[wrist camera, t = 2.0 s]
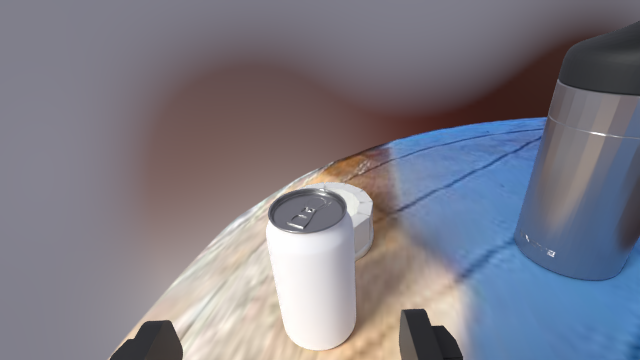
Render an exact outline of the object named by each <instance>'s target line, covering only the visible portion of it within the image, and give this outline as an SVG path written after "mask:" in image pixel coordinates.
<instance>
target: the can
mask: <svg viewBox="0 0 640 360" xmlns="http://www.w3.org/2000/svg"><path fill="white" fill-rule="evenodd" d="M268 217H269V221H268V224H267V228H266V237H267V243H268V249H269V254H270V259H271V264H272V269H273V274H274V279H275V284H276V289H277V294H278V299H279V304H280V308H281V313H282V318H283V323H284V327H285V330H286V332H287V334H288V336H289V337H290V339H291V340H292V341H293V342H294V343H296V344H297V345H299V346H300V347H303V348H305V349H309V350H315V351H321V350H327V349H331V348H334V347H336V346H338V345H340V344H341V343H343V342H344V341H345V340H346V339H347V338H348V337H349V336H350V334H351V333H352V331H353V329H354V326H355V322H356V286H355V253H354V229H353V221H352V218H351V216H350V214H349V213H348V211H347V204H346V202H345V200H344V199H343V197H342V196H340V195H339V194H337V193H335V192H333V191H330V190H327V189H321V188H305V189H299V190H295V191H292V192H289V193H286V194H284V195H282V196H281V197H279V198H278V199H276V200H275V201H274V202H273V203H272V205H271V206H270V208H269V211H268Z"/></svg>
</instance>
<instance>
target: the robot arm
mask: <svg viewBox="0 0 640 360" xmlns="http://www.w3.org/2000/svg"><path fill="white" fill-rule="evenodd" d="M639 236H640V21H638V22H636V23H634V24H632V25H629V26H627V27H624V28H622V29H619V30H616V31H613V32H610V33H607V34H604V35H601V36H597V37H594V38H590V39H587V40H584V41H582V42H579V43H577V44H576V45H574V46H572V47H571V48H570V49H569V50H568V52H567V53H566V55H565V57H564V60H563V63H562V67H561V70H560V74H559V77H558V81H557V84H556V88H555V92H554V95H553V99H552V102H551V106H550V109H549V114H548V117H547V120H546V124H545V127H544V131H543V135H542V138H541V142H540V145H539V149H538V152H537V156H536V159H535V163H534V166H533V170H532V173H531V177H530V181H529V184H528V188H527V191H526V195H525V198H524V202H523V205H522V208H521V212H520V216H519V219H518V223H517V226H516V230H515V233H514V240H515V242H516V245H517V246H518V248H519V249H520V250H521V251H522V252H523V253H524V254H525V255H526V256H527V257H528V258H530V259H531V260H532V261H534V262H535V263H537V264H539V265H541V266H543V267H544V268H546V269H548V270H551V271H553V272H556V273H558V274H561V275H565V276H568V277H572V278H577V279H583V280H605V279H609V278H612V277H615V276H616V275H617V274H618V273H620V271H621V269H622V267H623V265H624V264H625V262H626V260H627V258H628V256H629V254H630V252H631V251H632V249H633V247H634V245H635V243H636V241H637V240H638V238H639ZM399 346H400V353H401V358H402V360H463V356H462V354H461V351H460V349H459V347H458V344H457V342H456V340H455V339H454V337H453V336H452V335H451V334H450V333H449V332H448V331H447V329H446V328H445V327H444V326H431V324H430V321H429V318H428V315H427V313H426V311H425V310H424V309H407V310H402V311H401V319H400V332H399ZM182 358H183V349H182V345H181V343H180V341H179V338H178V336H177V334H176V332H175V329H174V327H173V325H172V323H171V321H169V320H163V321H147V322H145V323H144V324H143V325H142V326H141V328H140V329H139V331H138V333H137V334H136V336H135V338H134V339H128V340H127V341H126V342H125V343H124V344H123V345H122V346H121V347H120V348H119V349H118V350H117V351H116V352H115V353H114V354H113V355H112V357H111V358H110V360H182Z"/></svg>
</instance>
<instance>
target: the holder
mask: <svg viewBox="0 0 640 360" xmlns="http://www.w3.org/2000/svg"><path fill="white" fill-rule="evenodd" d="M305 188H321V189H327V190H330V191H333V192H335V193H337V194H339V195H340V196H342V197H343V199H344V200H345V202H346V204H347V211H348V213H349V214H350V216H351V218H352V221H353V229H354V253H355V261H357V260H358V259H360V258H361V257H363V256H364V255H365V254H366V253H367V252H368V251H369V249H370V248H371V246H372V243H373V237H374V229H373V201H372V200H371V198H370V197H369V196H368V195H367V194H366V192H365V191H363V190H362V189H360V188H357V187H354V186H352V185H349V184H346V185H345V183H333V182H326V183H325V184H324V182H322V183H317V184H312V185H307V186H305V187H301V188H299V189H305ZM299 189H298V190H299Z"/></svg>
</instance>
